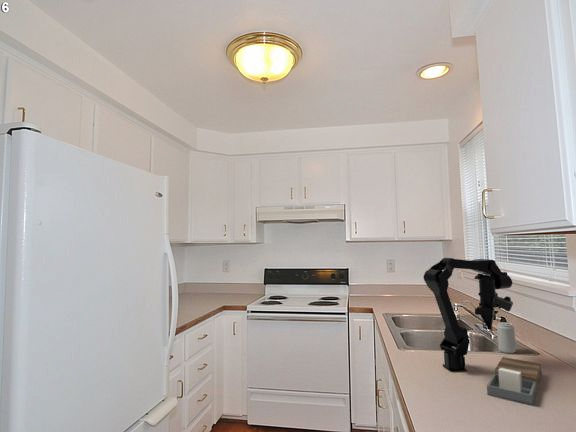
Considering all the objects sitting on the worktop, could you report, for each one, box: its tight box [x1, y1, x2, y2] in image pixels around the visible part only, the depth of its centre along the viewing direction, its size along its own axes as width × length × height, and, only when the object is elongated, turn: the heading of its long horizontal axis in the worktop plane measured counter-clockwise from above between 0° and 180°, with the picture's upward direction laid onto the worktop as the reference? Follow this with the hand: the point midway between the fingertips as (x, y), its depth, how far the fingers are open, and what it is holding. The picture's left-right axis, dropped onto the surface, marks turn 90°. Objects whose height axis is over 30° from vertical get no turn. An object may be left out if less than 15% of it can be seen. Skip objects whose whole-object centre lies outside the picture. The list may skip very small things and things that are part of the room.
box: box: [486, 373, 537, 406], centre depth 115 cm, size 12×12×3 cm
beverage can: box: [496, 321, 517, 354], centre depth 153 cm, size 6×6×12 cm
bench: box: [493, 356, 542, 392], centre depth 126 cm, size 16×12×4 cm
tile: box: [498, 368, 522, 392], centre depth 116 cm, size 6×6×2 cm
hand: (489, 329), depth 142 cm, fingers closed
